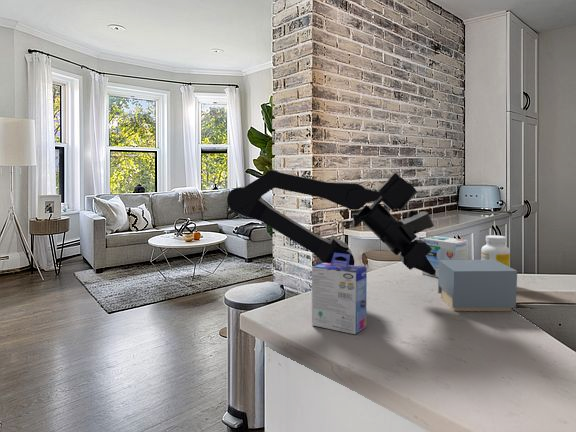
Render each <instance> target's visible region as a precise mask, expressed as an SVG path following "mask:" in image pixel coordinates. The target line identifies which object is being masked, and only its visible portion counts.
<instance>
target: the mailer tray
mask: <svg viewBox="0 0 576 432" xmlns="http://www.w3.org/2000/svg"><path fill="white" fill-rule="evenodd" d="M440 294H441V295H440V298H441V299H442V300H443V302H444V303H445V304H447V305H448V307H450V308H451V309H452V310H453V312H475V311H476V312H511V311H512V308H453V307H452V299H453V298H452V297H451V296H450V295H449V294H448V293H447V292H445V291H444V290H443V289H442V288H441V293H440Z"/></svg>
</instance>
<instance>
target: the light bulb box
mask: <svg viewBox="0 0 576 432" xmlns="http://www.w3.org/2000/svg"><path fill="white" fill-rule="evenodd" d="M422 241H424V242H425V243H426V244H428V245H429V246H430V247H431V248H432V249H431V251H430V252H429V253H428V254H427V255H426V257H427V259H428V260H429V262H430V263H431V265H432V266H433V268H434V269H435V271H436V272H435V273H434V274H433V275H431V274H429V273H426V272H424V271H421V274H422V275H425V276H430V277H433V278H434V277H435V278H436V279H438V267H439V260H469V240H468V239H461V238H453V237H445V236H441V235H440V236H438V235H433V236H430V237H425V238H424V237H423V239H422Z"/></svg>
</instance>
